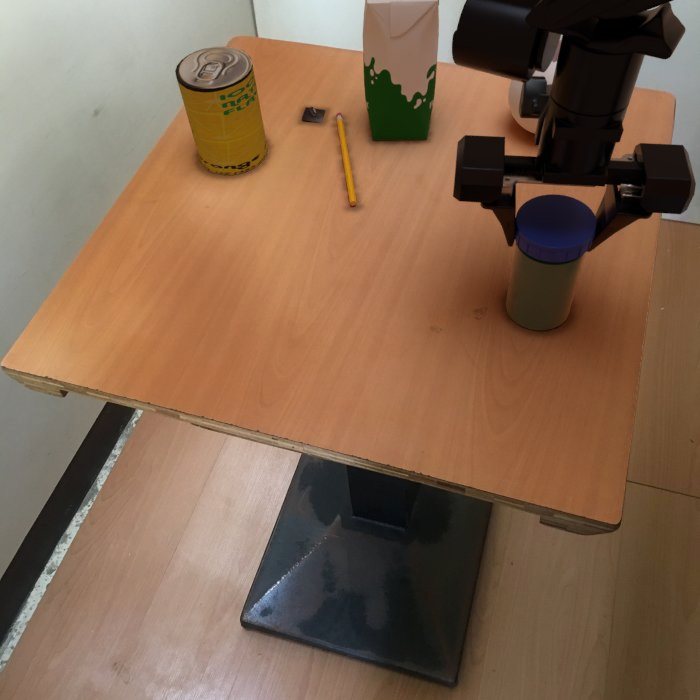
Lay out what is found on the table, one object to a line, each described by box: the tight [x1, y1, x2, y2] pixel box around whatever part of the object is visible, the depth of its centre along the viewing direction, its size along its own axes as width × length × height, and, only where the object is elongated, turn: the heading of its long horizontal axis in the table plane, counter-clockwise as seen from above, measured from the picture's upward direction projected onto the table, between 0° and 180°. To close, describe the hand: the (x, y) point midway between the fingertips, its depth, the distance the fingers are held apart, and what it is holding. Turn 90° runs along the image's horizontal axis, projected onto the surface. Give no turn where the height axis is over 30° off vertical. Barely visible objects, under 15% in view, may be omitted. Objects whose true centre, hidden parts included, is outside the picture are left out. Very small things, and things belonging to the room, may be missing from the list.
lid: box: [514, 193, 597, 262], centre depth 58 cm, size 7×7×2 cm
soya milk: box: [362, 0, 440, 141], centre depth 79 cm, size 9×9×20 cm
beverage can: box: [174, 46, 269, 176], centre depth 80 cm, size 9×9×12 cm
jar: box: [505, 241, 587, 331], centre depth 62 cm, size 6×6×11 cm
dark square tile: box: [301, 106, 326, 124], centre depth 88 cm, size 3×3×1 cm
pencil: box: [335, 112, 358, 207], centre depth 82 cm, size 1×18×1 cm, turn 6°
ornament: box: [507, 39, 562, 135], centre depth 80 cm, size 10×10×12 cm
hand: (548, 245), depth 60 cm, fingers closed on lid, 7 cm apart
